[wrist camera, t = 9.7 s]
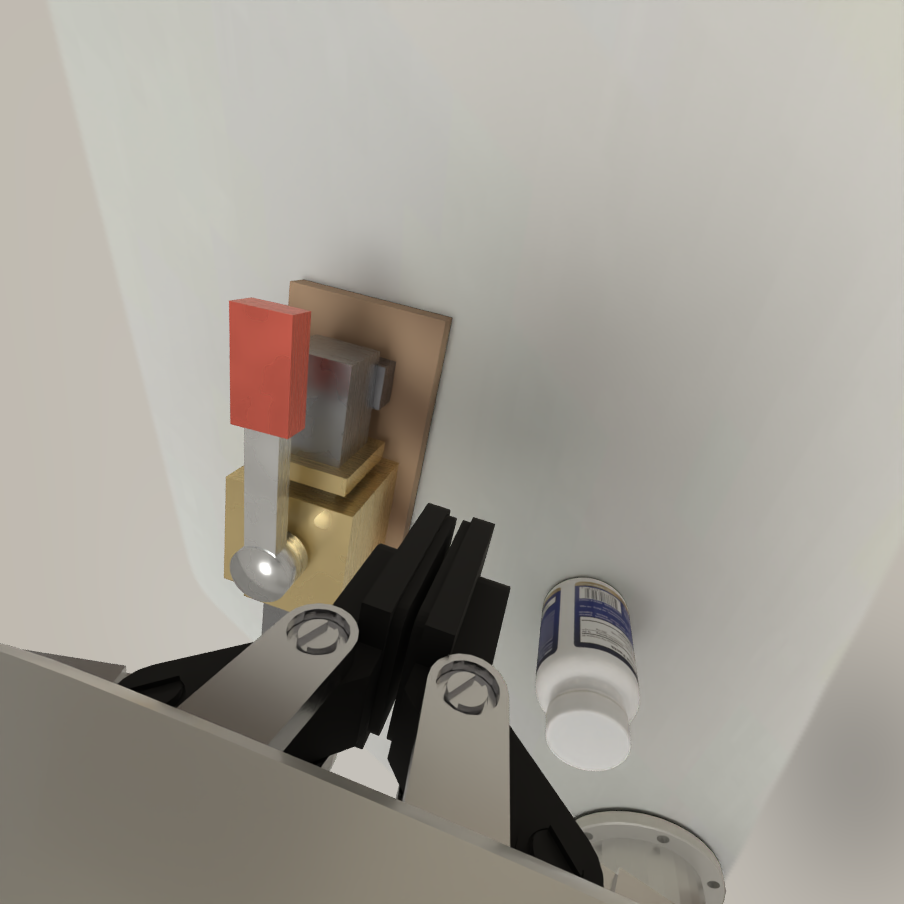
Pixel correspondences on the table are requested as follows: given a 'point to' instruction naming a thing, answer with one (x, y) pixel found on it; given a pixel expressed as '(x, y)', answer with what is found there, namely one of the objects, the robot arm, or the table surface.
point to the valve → (330, 476)
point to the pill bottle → (587, 674)
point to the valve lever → (268, 437)
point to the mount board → (414, 384)
